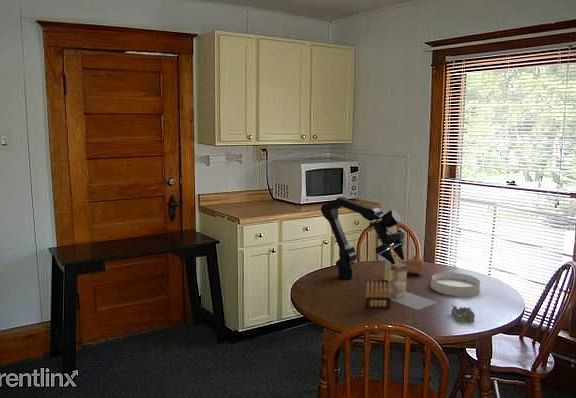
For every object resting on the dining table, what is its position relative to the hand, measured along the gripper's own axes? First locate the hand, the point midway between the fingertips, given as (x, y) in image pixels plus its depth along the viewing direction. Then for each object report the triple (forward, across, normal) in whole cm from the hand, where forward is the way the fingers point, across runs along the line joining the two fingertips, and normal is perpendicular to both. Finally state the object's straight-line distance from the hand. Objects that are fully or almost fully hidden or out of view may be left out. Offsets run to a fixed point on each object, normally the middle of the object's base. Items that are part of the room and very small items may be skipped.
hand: (399, 262), depth 243 cm
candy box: (+6, +13, +16) cm, 21 cm away
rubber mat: (+15, -8, +2) cm, 18 cm away
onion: (+9, +29, +12) cm, 32 cm away
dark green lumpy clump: (+32, -13, -21) cm, 41 cm away
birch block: (+13, -7, +4) cm, 16 cm away
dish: (+23, +20, -8) cm, 31 cm away
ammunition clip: (+14, -26, +5) cm, 30 cm away
